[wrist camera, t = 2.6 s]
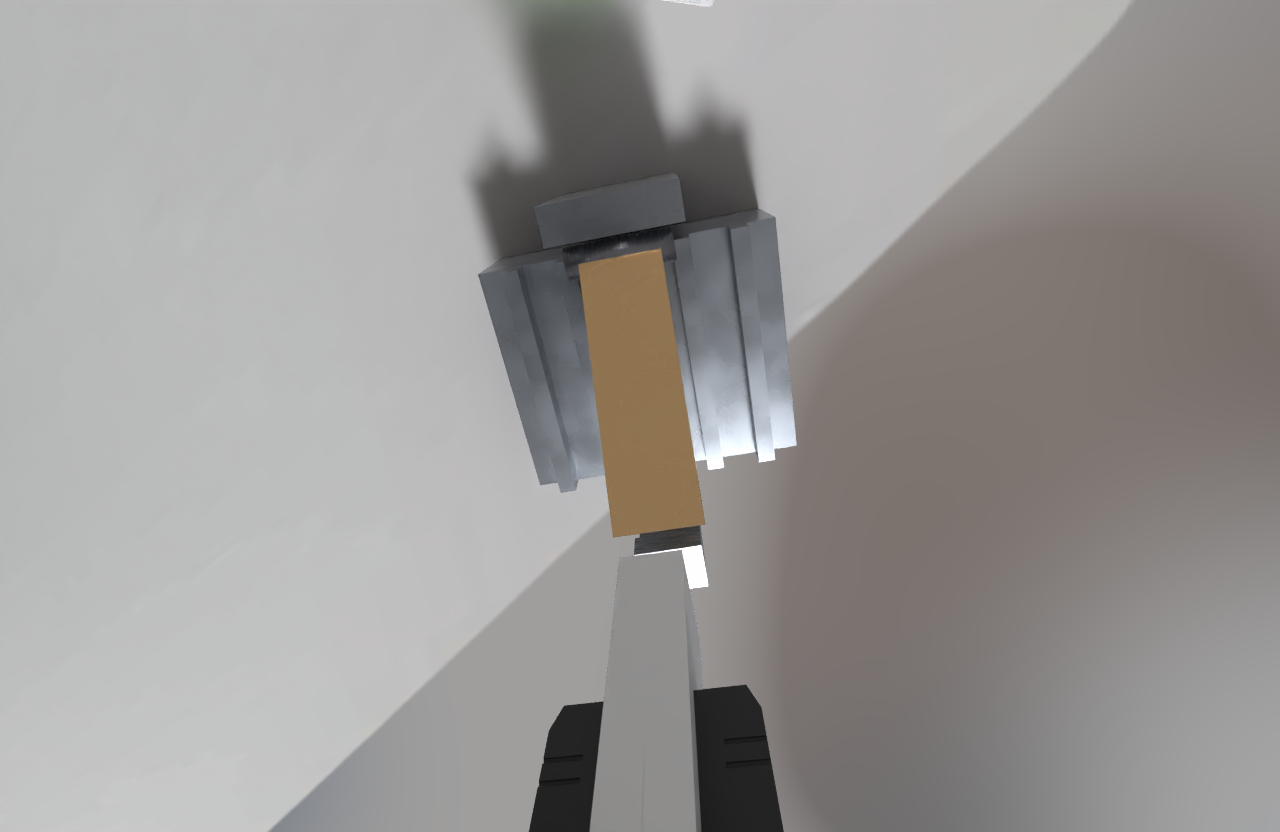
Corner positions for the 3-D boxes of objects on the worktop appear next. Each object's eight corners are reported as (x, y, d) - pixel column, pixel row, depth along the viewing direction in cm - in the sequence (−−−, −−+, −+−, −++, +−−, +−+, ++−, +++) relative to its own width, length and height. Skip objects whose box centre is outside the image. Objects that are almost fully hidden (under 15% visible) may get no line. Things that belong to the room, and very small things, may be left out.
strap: (604, 538, 20) (597, 539, 19) (569, 256, 22) (560, 241, 21) (720, 522, 20) (720, 521, 19) (673, 236, 22) (670, 220, 21)
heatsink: (560, 471, 32) (518, 611, 22) (488, 209, 27) (389, 241, 17) (782, 436, 31) (841, 568, 21) (753, 155, 26) (814, 155, 16)
